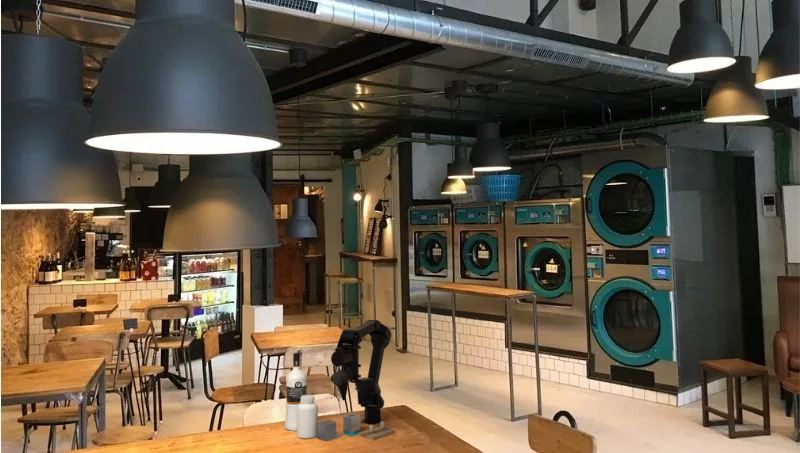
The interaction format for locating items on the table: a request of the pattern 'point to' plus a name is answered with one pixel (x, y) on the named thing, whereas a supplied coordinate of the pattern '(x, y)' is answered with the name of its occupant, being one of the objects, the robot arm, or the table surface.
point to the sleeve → (351, 424)
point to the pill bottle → (307, 417)
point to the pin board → (377, 432)
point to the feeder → (327, 430)
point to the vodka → (294, 392)
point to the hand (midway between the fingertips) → (351, 402)
